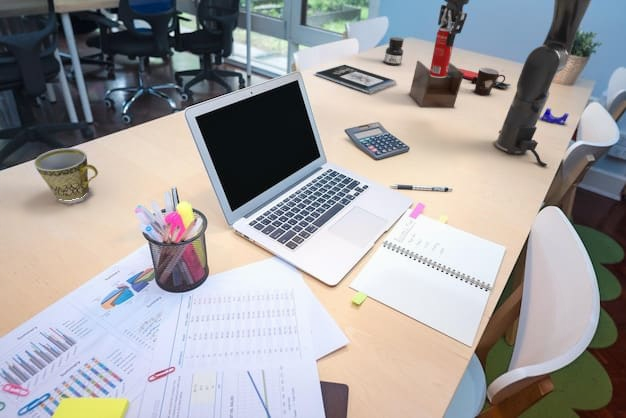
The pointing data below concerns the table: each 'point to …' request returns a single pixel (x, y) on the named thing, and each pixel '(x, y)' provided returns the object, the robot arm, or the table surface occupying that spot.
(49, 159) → the ceramic cup
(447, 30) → the beverage can
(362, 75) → the sketchbook
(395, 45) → the ink bottle
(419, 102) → the shelf
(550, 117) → the cable holder
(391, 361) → the table surface
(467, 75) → the red board with handle
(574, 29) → the robot arm
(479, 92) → the coffee mug
